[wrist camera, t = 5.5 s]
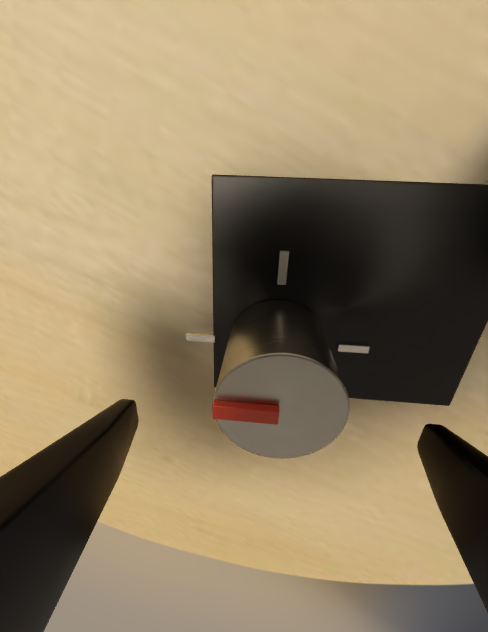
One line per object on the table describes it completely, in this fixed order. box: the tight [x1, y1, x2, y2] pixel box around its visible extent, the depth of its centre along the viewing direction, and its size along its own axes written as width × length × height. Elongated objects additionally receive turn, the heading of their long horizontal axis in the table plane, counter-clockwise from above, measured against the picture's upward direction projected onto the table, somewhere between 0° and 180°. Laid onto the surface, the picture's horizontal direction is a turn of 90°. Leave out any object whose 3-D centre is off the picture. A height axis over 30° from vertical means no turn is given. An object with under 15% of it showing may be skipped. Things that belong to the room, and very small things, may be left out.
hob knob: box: [212, 300, 349, 458], centre depth 11 cm, size 4×4×5 cm
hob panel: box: [186, 175, 488, 406], centre depth 14 cm, size 13×11×3 cm
